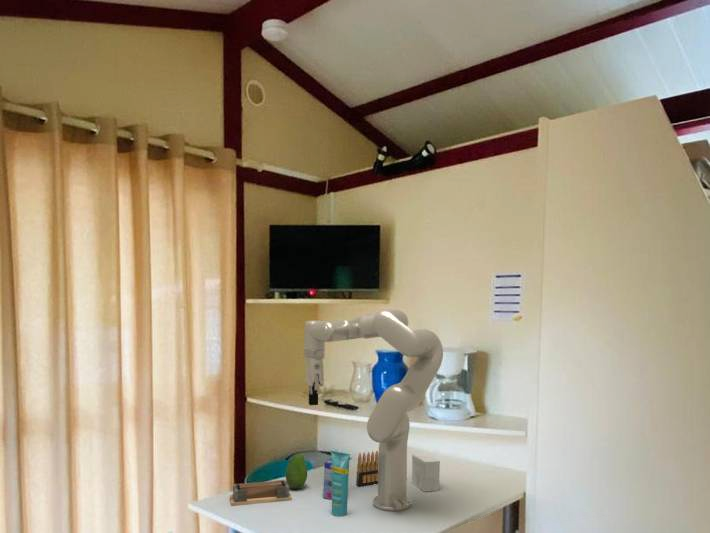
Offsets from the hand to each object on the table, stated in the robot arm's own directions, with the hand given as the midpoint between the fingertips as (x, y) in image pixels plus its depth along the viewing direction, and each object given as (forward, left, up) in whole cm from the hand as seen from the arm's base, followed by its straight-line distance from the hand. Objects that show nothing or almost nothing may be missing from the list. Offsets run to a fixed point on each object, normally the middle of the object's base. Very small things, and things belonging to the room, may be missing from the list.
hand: (313, 404), depth 198 cm
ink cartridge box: (-11, -6, -29) cm, 32 cm away
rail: (-8, +20, -29) cm, 36 cm away
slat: (-8, +20, -28) cm, 35 cm away
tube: (-27, -3, -29) cm, 40 cm away
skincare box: (-11, -40, -29) cm, 51 cm away
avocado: (-1, +6, -29) cm, 30 cm away
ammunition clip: (-4, -21, -29) cm, 36 cm away
